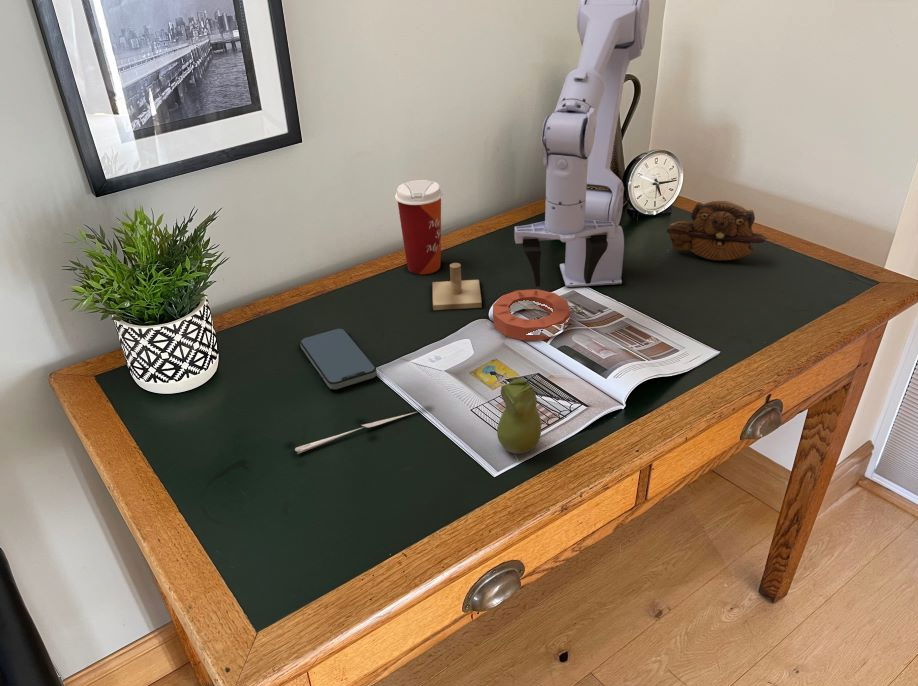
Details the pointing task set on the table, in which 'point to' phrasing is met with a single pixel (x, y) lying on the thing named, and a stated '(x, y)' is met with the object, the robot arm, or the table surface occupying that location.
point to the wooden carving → (716, 231)
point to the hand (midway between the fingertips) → (562, 282)
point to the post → (456, 292)
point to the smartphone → (338, 358)
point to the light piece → (317, 443)
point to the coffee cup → (421, 224)
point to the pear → (519, 418)
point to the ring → (521, 327)
